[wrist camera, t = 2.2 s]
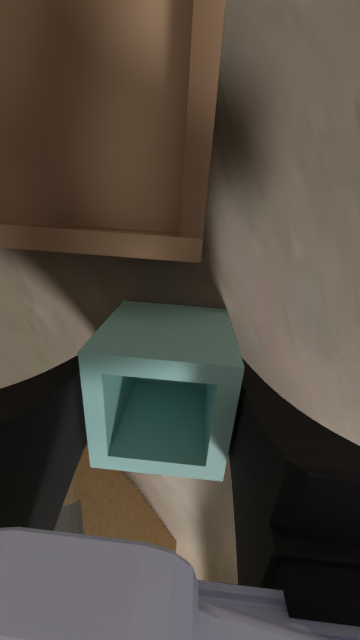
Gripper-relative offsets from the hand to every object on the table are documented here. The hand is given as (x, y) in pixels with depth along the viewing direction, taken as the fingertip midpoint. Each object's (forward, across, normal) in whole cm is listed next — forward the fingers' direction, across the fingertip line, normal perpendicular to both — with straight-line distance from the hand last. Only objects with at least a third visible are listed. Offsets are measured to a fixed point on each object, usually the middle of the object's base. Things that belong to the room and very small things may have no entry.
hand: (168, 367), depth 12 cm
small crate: (+2, 0, 0) cm, 2 cm away
